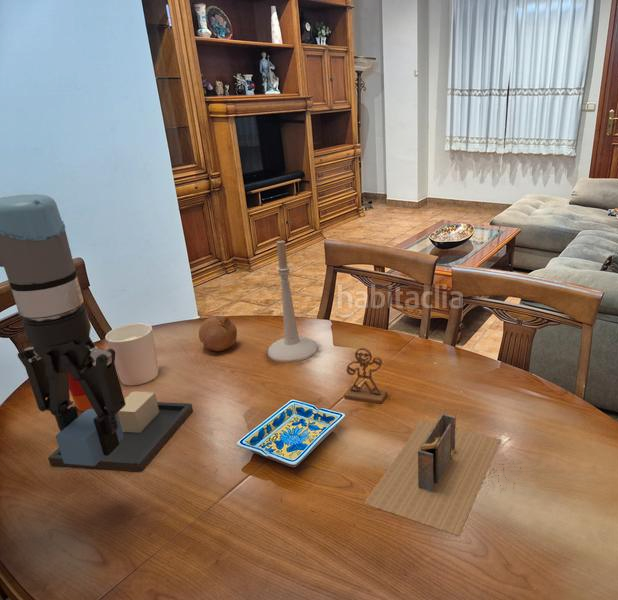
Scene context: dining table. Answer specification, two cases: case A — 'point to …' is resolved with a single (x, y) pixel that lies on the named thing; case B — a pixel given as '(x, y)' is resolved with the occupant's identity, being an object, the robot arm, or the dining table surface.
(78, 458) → the blue block
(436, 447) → the architectural model on board
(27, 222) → the robot arm
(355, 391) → the gingerbread man figurine
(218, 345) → the onion
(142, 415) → the cream block
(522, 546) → the dining table surface
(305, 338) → the candlestick
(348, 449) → the dining table surface
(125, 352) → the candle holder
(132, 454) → the tray
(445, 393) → the dining table surface
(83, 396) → the paper cup
